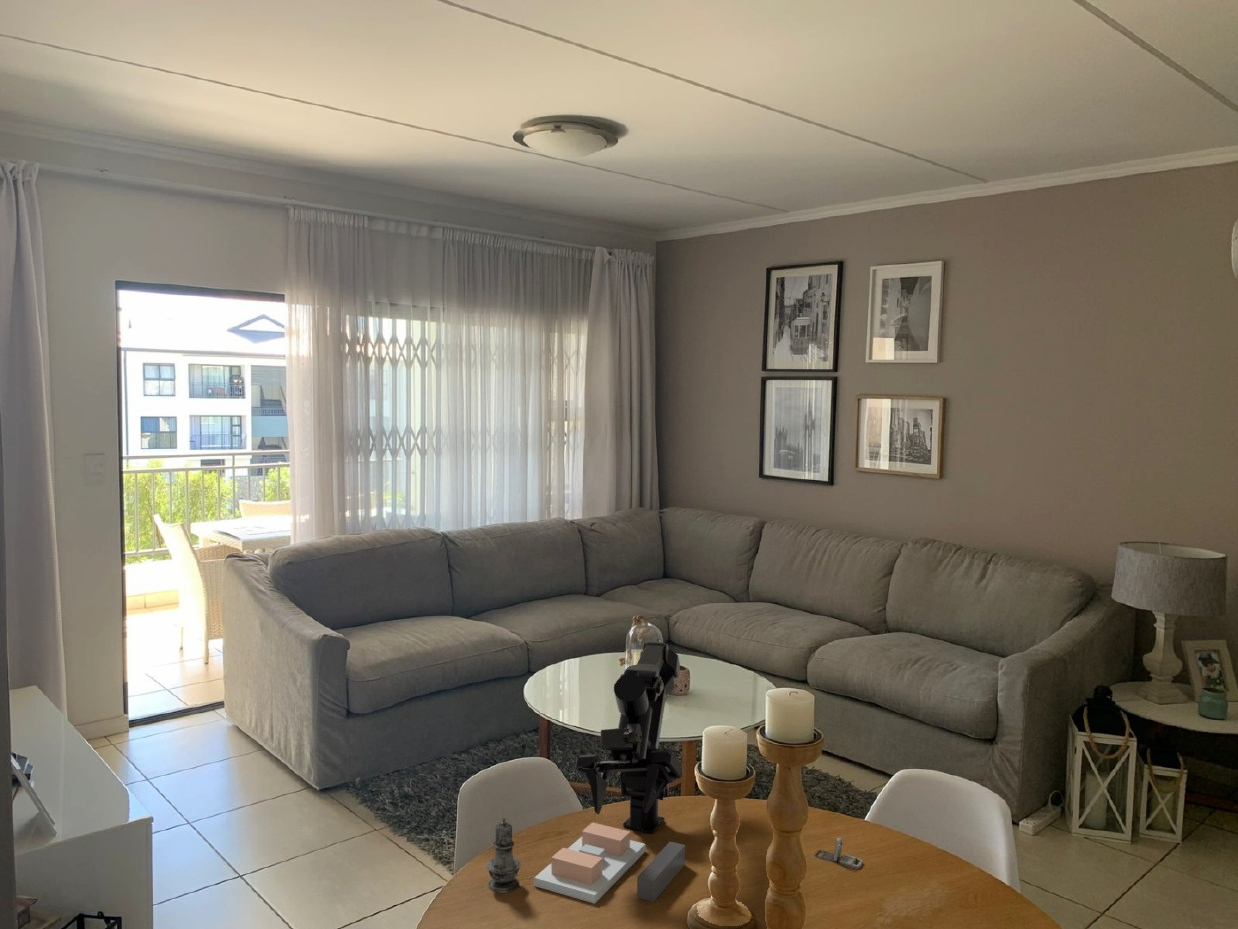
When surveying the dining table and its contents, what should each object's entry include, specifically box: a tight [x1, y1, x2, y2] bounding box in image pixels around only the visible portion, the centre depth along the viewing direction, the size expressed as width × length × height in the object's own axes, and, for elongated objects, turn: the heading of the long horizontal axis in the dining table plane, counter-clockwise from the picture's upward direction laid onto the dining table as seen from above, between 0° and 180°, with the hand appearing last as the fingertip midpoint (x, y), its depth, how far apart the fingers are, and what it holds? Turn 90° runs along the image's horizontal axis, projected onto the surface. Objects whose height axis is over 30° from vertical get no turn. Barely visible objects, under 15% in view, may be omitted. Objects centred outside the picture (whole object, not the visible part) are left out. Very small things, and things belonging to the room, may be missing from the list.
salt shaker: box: [486, 817, 522, 894], centre depth 159 cm, size 6×6×12 cm
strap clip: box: [814, 837, 863, 870], centre depth 169 cm, size 8×3×4 cm, turn 58°
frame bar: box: [636, 841, 686, 903], centre depth 161 cm, size 14×3×4 cm, turn 153°
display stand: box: [533, 822, 646, 905], centre depth 165 cm, size 20×12×4 cm, turn 153°
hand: (620, 812), depth 157 cm, fingers open, 9 cm apart
